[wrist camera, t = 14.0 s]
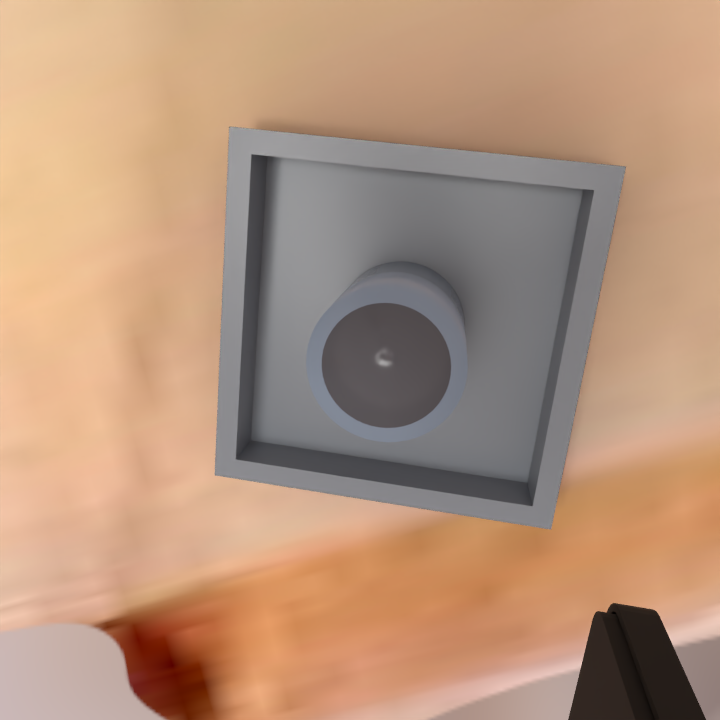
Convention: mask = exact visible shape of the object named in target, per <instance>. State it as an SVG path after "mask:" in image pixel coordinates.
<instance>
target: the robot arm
mask: <svg viewBox="0 0 720 720" xmlns="http://www.w3.org/2000/svg"><path fill="white" fill-rule="evenodd" d="M568 720H706V719H705V717H704V714H703V712H702V710H701V707H700V705H699V703H698V701H697V699H696V696H695V694H694V692H693V690H692V687H691V685H690V683H689V681H688V679H687V676H686V674H685V672H684V670H683V667H682V665H681V663H680V661H679V659H678V656H677V654H676V652H675V650H674V647H673V645H672V643H671V641H670V639H669V636H668V634H667V632H666V630H665V627H664V625H663V623H662V621H661V619H660V616H659V615H658V613H657V612H656V611H655V610H652V609H646V608H640V607H634V606H628V605H622V604H616V603H613V604H611V605H610V607H609V608H608V611H607V613H605V612H599V611H598V612H596V613H595V615H594V618H593V621H592V625H591V629H590V633H589V637H588V641H587V645H586V649H585V653H584V658H583V662H582V666H581V670H580V674H579V678H578V682H577V686H576V691H575V694H574V699H573V703H572V707H571V711H570V716H569V719H568Z"/></svg>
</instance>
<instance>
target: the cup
mask: <svg viewBox="0 0 720 720" xmlns="http://www.w3.org/2000/svg"><path fill="white" fill-rule="evenodd" d="M306 369H307V376H308V380H309V384H310V387H311V390H312V392H313V395H314V397H315V398H316V400H317V402H318V404H319V405H320V407H321V408H322V409H323V411H324V412H325V413H326V414H327V415H328V416H329V417H330V418H331V419H332V420H333V421H334V422H335V423H336V424H338V425H339V426H340V427H342V428H343V429H345V430H346V431H348V432H350V433H352V434H354V435H356V436H359V437H362V438H365V439H368V440H373V441H379V442H400V441H406V440H410V439H413V438H417V437H419V436H422V435H424V434H426V433H428V432H430V431H431V430H433V429H435V428H436V427H437V426H439V425H440V424H441V423H442V422H444V421H445V420H446V418H447V417H448V416H449V415H450V414H451V413H452V412H453V410H454V409H455V407H456V406H457V404H458V402H459V400H460V399H461V397H462V394H463V391H464V388H465V385H466V380H467V372H468V361H467V346H466V331H465V317H464V312H463V307H462V304H461V302H460V299H459V297H458V295H457V293H456V292H455V290H454V289H453V287H452V286H451V285H450V284H449V283H448V281H447V280H446V279H445V278H443V277H442V276H441V275H440V274H438V273H437V272H435V271H434V270H432V269H430V268H428V267H426V266H424V265H420V264H417V263H413V262H406V261H396V262H388V263H383V264H380V265H377V266H375V267H373V268H371V269H369V270H367V271H366V272H364V273H363V274H361V275H360V276H359V277H358V278H357V279H356V280H355V281H354V282H353V283H352V284H351V285H350V286H349V287H348V288H347V289H346V290H345V291H344V292H343V293H342V295H341V296H340V297H339V298H338V299H337V300H336V301H335V302H334V303H333V304H332V305H331V306H330V308H329V309H328V310H327V311H326V312H325V313H324V314H323V316H322V317H321V318H320V319H319V321H318V323H317V324H316V326H315V328H314V330H313V332H312V334H311V337H310V340H309V344H308V348H307V355H306Z"/></svg>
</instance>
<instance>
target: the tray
mask: <svg viewBox="0 0 720 720" xmlns="http://www.w3.org/2000/svg"><path fill="white" fill-rule="evenodd" d="M625 168H626V167H625V166H615V165H605V164H595V163H585V162H575V161H565V160H555V159H546V158H536V157H526V156H516V155H506V154H496V153H486V152H476V151H466V150H456V149H446V148H437V147H427V146H417V145H407V144H397V143H387V142H377V141H367V140H357V139H347V138H337V137H327V136H318V135H308V134H298V133H288V132H278V131H268V130H258V129H248V128H238V127H229V148H228V172H227V196H226V219H225V243H224V267H223V291H222V315H221V339H220V363H219V387H218V410H217V434H216V458H215V475H217V476H223V477H229V478H235V479H241V480H248V481H254V482H260V483H266V484H272V485H279V486H285V487H291V488H297V489H303V490H310V491H316V492H322V493H328V494H334V495H340V496H347V497H353V498H359V499H365V500H371V501H378V502H384V503H390V504H396V505H402V506H409V507H415V508H421V509H427V510H433V511H440V512H446V513H452V514H458V515H464V516H471V517H477V518H483V519H489V520H495V521H502V522H508V523H514V524H520V525H526V526H533V527H539V528H545V529H551V527H552V522H553V517H554V513H555V508H556V503H557V498H558V493H559V488H560V483H561V479H562V474H563V469H564V464H565V459H566V454H567V450H568V445H569V440H570V435H571V430H572V425H573V420H574V416H575V411H576V406H577V401H578V396H579V391H580V387H581V382H582V377H583V372H584V367H585V362H586V357H587V353H588V348H589V343H590V338H591V333H592V328H593V324H594V319H595V314H596V309H597V304H598V299H599V294H600V290H601V285H602V280H603V275H604V270H605V265H606V261H607V256H608V251H609V246H610V241H611V236H612V231H613V227H614V222H615V217H616V212H617V207H618V202H619V198H620V193H621V188H622V183H623V178H624V173H625ZM396 261H406V262H413V263H417V264H420V265H424V266H426V267H428V268H430V269H432V270H434V271H435V272H437V273H438V274H440V275H441V276H442V277H443V278H445V279H446V280H447V281H448V283H449V284H450V285H451V286H452V287H453V289H454V290H455V292H456V293H457V295H458V297H459V299H460V302H461V304H462V307H463V312H464V317H465V331H466V346H467V361H468V372H467V380H466V385H465V388H464V391H463V394H462V397H461V399H460V400H459V402H458V404H457V406H456V407H455V409H454V410H453V412H452V413H451V414H450V415H449V416H448V417H447V418H446V420H445V421H444V422H442V423H441V424H440V425H439V426H437V427H436V428H435V429H433V430H431V431H430V432H428V433H426V434H424V435H422V436H419V437H417V438H413V439H410V440H406V441H400V442H379V441H373V440H368V439H365V438H362V437H359V436H356V435H354V434H352V433H350V432H348V431H346V430H345V429H343V428H342V427H340V426H339V425H338V424H336V423H335V422H334V421H333V420H332V419H331V418H330V417H329V416H328V415H327V414H326V413H325V412H324V411H323V409H322V408H321V407H320V405H319V404H318V402H317V400H316V398H315V397H314V395H313V392H312V390H311V387H310V384H309V380H308V376H307V369H306V355H307V348H308V344H309V340H310V337H311V334H312V332H313V330H314V328H315V326H316V324H317V323H318V321H319V319H320V318H321V317H322V316H323V314H324V313H325V312H326V311H327V310H328V309H329V308H330V306H331V305H332V304H333V303H334V302H335V301H336V300H337V299H338V298H339V297H340V296H341V295H342V293H343V292H344V291H345V290H346V289H347V288H348V287H349V286H350V285H351V284H352V283H353V282H354V281H355V280H356V279H357V278H358V277H359V276H360V275H361V274H363V273H364V272H366V271H367V270H369V269H371V268H373V267H375V266H377V265H380V264H383V263H388V262H396Z"/></svg>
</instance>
